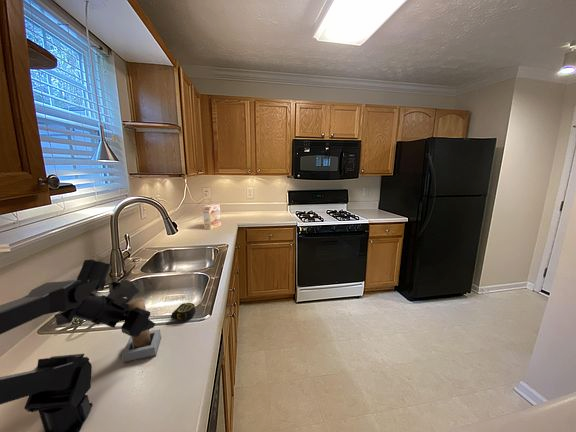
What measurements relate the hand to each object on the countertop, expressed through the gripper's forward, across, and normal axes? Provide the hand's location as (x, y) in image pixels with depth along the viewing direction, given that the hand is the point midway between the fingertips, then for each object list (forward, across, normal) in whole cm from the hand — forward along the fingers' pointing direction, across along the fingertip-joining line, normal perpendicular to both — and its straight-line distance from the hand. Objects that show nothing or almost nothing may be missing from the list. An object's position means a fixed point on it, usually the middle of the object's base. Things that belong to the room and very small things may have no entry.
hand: (143, 321), depth 71 cm
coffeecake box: (+89, +82, -77) cm, 144 cm away
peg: (+5, 0, +7) cm, 8 cm away
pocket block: (+5, 0, +7) cm, 9 cm away
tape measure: (+17, +2, -4) cm, 18 cm away
